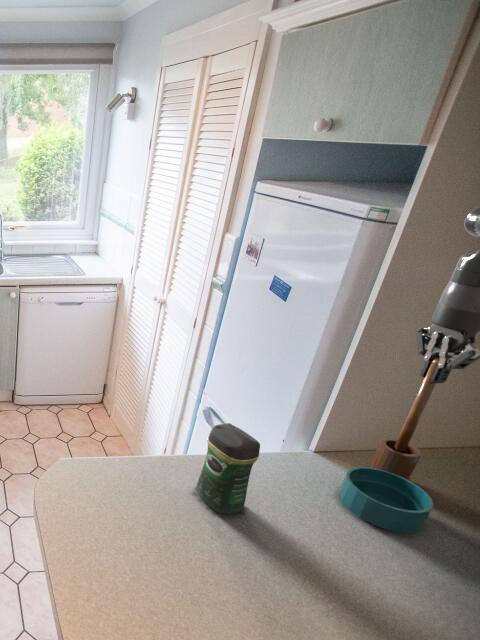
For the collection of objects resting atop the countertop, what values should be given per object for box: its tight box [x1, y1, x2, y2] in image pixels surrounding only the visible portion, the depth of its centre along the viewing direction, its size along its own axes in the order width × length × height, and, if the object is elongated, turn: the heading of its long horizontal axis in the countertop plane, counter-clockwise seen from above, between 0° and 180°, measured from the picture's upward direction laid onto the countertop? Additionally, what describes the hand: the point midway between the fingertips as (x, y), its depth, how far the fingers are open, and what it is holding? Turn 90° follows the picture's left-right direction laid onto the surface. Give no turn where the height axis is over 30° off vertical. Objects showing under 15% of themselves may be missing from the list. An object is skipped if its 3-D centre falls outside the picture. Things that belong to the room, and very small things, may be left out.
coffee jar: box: [195, 422, 261, 515], centre depth 99 cm, size 10×8×19 cm
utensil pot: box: [368, 437, 422, 481], centre depth 108 cm, size 7×7×9 cm
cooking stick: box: [395, 359, 440, 452], centre depth 102 cm, size 2×2×24 cm
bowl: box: [338, 466, 434, 534], centre depth 99 cm, size 14×14×6 cm
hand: (431, 379), depth 99 cm, fingers closed on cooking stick, 2 cm apart
